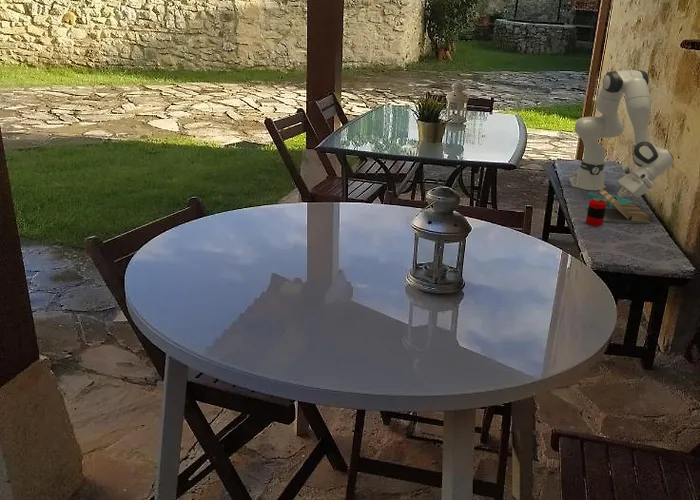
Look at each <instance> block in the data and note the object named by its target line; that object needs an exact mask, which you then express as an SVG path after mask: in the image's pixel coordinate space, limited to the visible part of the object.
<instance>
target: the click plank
mask: <svg viewBox="0 0 700 500" xmlns="http://www.w3.org/2000/svg"><path fill="white" fill-rule="evenodd" d="M598 192H599V194H601V195H600V196H603V197H605V198H606V199H607V200H608V201H609V202H610V203H611V204H612V205H613V206H614V207H615V208H616V209H617V210H618V211H619V212H620V213H621V214H623V215H624V216H625V217H626V218H627V219H629V218H630V217H631V216H632V215H631V214H630V213H629V212H628V211H627V210H626V209H625V208H624V207H623V206H622V205H621V204H620V203H619V202H618V201H617V200H616V199H614V198H613V197H612V196H611V195H612V194H610V193H608V192H607V191H606V190H605V188H602V189H601V190H598Z"/></svg>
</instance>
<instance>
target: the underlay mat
mask: <svg viewBox="0 0 700 500" xmlns="http://www.w3.org/2000/svg"><path fill="white" fill-rule="evenodd" d="M588 207H589V206H586V208H585V209H586V210H587V211H588ZM603 223H611V224H612V223H614V224H635V223H639V225H640V224H641V225H650V224H651V221H650V220H649V221H631V220H630V219H627V218H626V217H625V216H624V215H623V214H621V213H620V212H619V211H618V210H617V209H616V208H610V207H606V209H605V214H604V220H603Z"/></svg>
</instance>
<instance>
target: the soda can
mask: <svg viewBox="0 0 700 500" xmlns="http://www.w3.org/2000/svg"><path fill="white" fill-rule="evenodd" d="M606 204H607V203H606V202H605V200H604V199H602V198H593V197H591V199H590V200H589V202H588V206H587V207H588V210H587V214H586V219H585V223H586V224H587V225H588V226H592V227H601V226H603V224H604V222H603V220H604V214H605V209H606V208H607V205H606Z"/></svg>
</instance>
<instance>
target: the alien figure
mask: <svg viewBox="0 0 700 500" xmlns="http://www.w3.org/2000/svg"><path fill="white" fill-rule="evenodd" d="M610 195H611V196H612V197H613V198H614V199H616V200H617V201H618V202H619V203H620V204H633V203H632V201H631V199H626V198H625V197H622V198H620V197H619V196H618V195H615V194H610ZM587 198H602V199H604V200H605V202H606V203H607V204H606V206H607V205H608V206H609V207H608V208H615V207H614V206H613V205H612V204H611V203H610V202H609V201H608V200H607V199H606V198H605V197H604V196H603V195H599V194H596V193H593V192H587Z"/></svg>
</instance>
